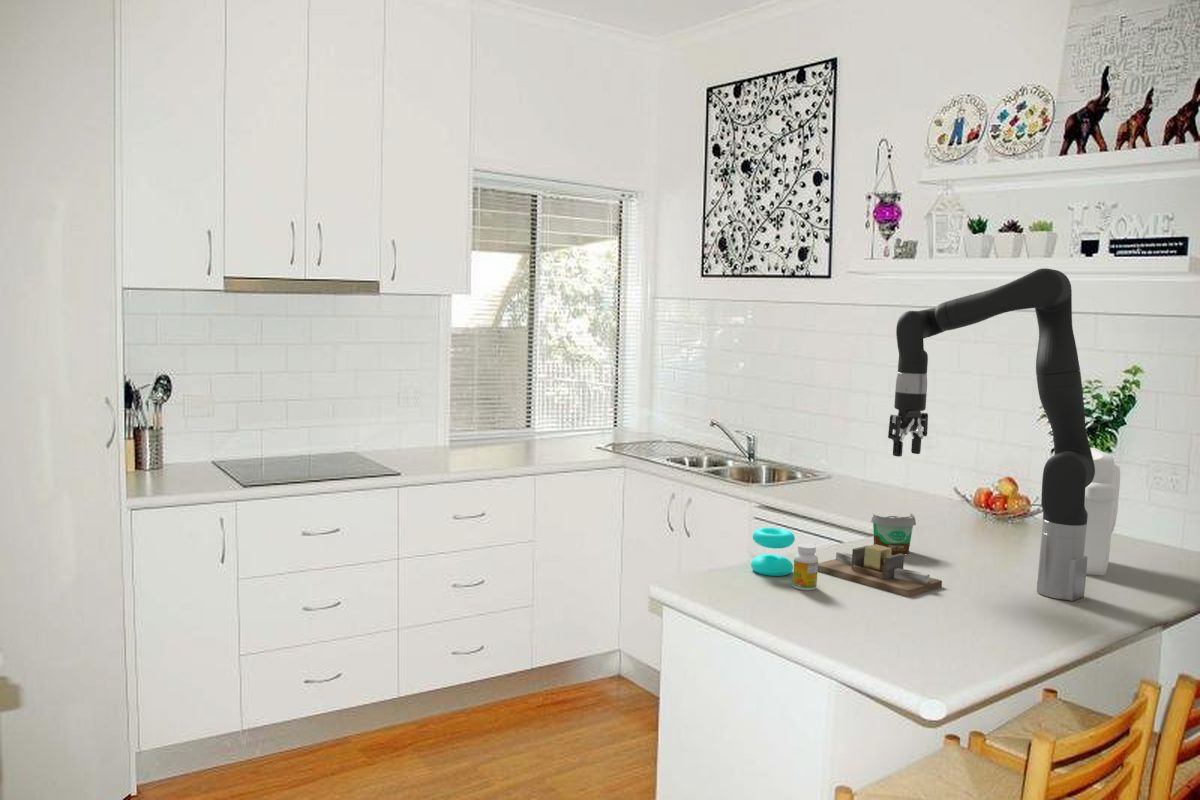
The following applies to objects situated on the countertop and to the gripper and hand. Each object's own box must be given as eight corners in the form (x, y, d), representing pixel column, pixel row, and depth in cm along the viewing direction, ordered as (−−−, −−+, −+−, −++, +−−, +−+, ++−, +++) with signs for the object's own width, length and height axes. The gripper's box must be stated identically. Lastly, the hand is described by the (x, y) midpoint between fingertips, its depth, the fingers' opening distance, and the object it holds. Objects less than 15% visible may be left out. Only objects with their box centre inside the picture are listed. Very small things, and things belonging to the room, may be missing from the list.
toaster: (1126, 582, 243) (1138, 460, 240) (1077, 577, 246) (1088, 457, 242) (1095, 554, 270) (1105, 444, 267) (1051, 551, 272) (1060, 442, 269)
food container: (881, 557, 258) (884, 519, 257) (868, 551, 264) (871, 514, 263) (923, 556, 262) (925, 518, 260) (910, 550, 267) (912, 513, 266)
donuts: (750, 533, 236) (755, 524, 246) (748, 574, 237) (753, 564, 247) (793, 537, 234) (796, 528, 243) (790, 579, 235) (794, 568, 244)
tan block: (893, 573, 237) (895, 549, 237) (882, 576, 234) (884, 551, 234) (870, 567, 242) (872, 543, 241) (859, 570, 239) (861, 545, 239)
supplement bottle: (787, 585, 230) (790, 543, 229) (807, 583, 232) (809, 542, 231) (801, 591, 225) (803, 549, 224) (821, 589, 227) (823, 547, 226)
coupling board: (941, 586, 233) (943, 559, 232) (907, 596, 224) (909, 568, 223) (848, 561, 253) (850, 536, 252) (814, 570, 244) (815, 544, 243)
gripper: (908, 393, 242) (904, 459, 244) (939, 391, 252) (935, 454, 253) (882, 390, 248) (877, 455, 250) (912, 388, 257) (908, 450, 259)
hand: (906, 454), depth 251 cm, fingers open, 8 cm apart
